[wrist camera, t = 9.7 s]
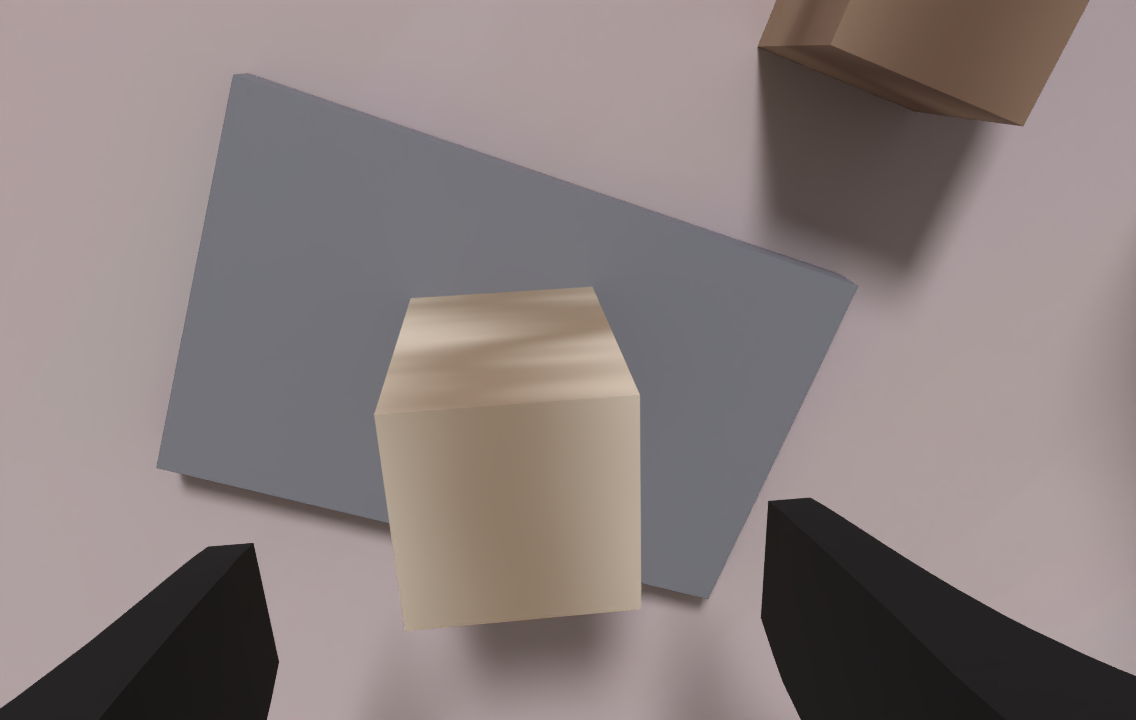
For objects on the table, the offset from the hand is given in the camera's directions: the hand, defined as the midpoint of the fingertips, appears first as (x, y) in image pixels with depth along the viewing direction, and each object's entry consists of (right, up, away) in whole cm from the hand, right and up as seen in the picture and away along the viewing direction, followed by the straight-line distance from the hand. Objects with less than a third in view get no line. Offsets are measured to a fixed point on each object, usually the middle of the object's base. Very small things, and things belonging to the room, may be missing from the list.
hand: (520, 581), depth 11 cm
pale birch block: (-1, +3, +7) cm, 8 cm away
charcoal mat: (-1, +3, +8) cm, 9 cm away
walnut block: (+7, +11, +6) cm, 15 cm away
